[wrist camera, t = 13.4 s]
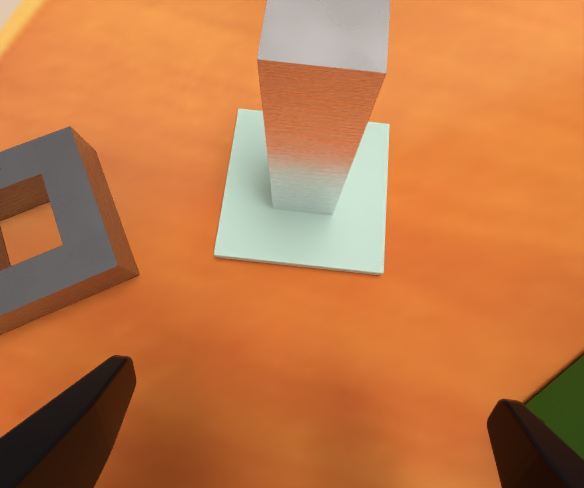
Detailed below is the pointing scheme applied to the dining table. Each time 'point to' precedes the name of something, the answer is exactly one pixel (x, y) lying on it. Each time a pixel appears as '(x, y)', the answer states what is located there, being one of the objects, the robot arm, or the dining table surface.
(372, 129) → the pad
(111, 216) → the socket block
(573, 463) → the robot arm
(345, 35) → the peg
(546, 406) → the clamp
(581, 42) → the dining table surface
